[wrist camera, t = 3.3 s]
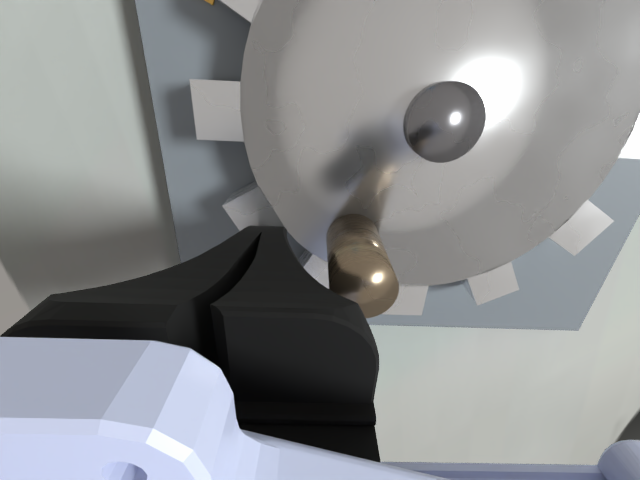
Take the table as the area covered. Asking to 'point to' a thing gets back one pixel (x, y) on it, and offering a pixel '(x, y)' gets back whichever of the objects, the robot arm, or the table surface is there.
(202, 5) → the base plate
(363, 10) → the sprocket
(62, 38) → the table surface
